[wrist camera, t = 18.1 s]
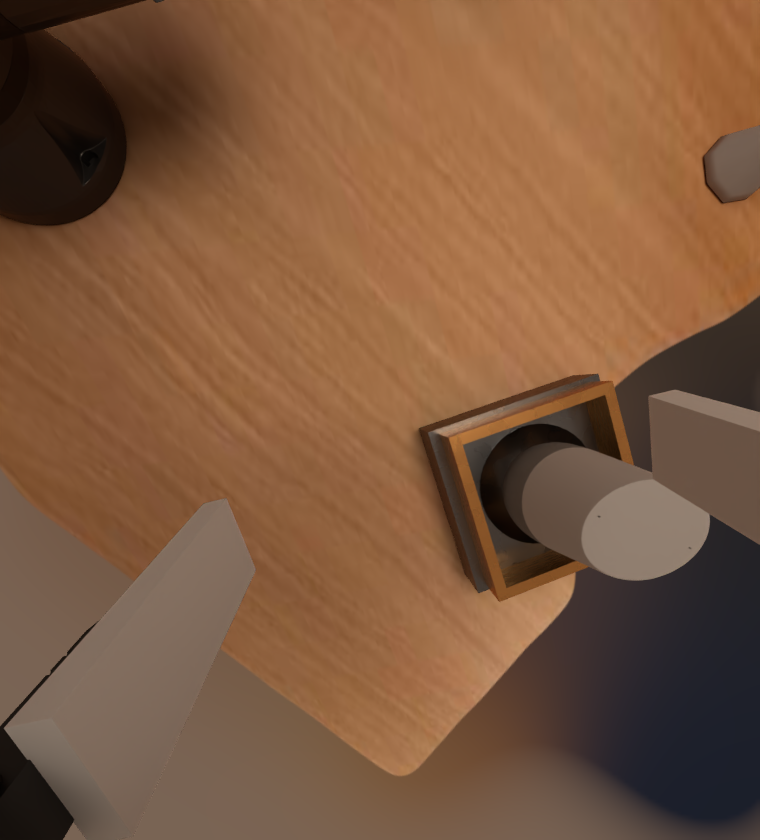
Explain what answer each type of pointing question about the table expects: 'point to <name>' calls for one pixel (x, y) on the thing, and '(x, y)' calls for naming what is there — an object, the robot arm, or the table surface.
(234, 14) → the table surface
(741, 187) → the flask
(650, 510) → the smart speaker
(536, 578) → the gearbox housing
